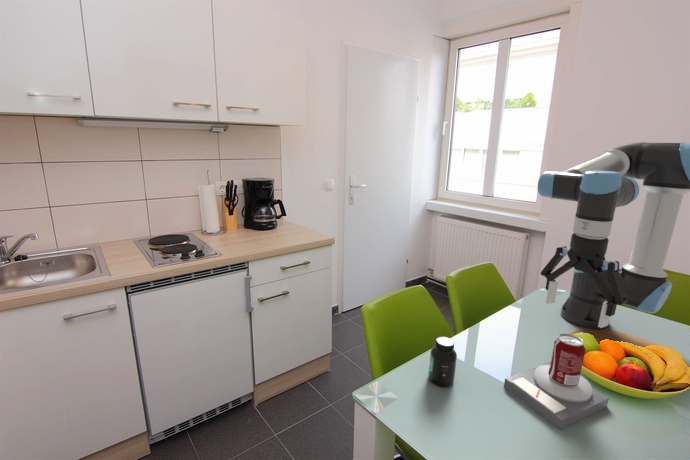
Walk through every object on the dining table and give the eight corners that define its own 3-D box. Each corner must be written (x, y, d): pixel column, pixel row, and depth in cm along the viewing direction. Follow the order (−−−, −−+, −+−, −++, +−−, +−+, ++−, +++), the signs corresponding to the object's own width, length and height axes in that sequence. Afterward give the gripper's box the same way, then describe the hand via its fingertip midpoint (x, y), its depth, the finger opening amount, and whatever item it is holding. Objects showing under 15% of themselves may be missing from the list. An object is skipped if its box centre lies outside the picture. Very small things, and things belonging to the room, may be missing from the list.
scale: (548, 369, 103) (550, 357, 102) (606, 406, 89) (610, 392, 88) (503, 386, 96) (505, 373, 95) (560, 429, 82) (563, 414, 81)
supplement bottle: (426, 384, 96) (430, 345, 93) (429, 369, 102) (433, 332, 99) (452, 390, 93) (457, 350, 90) (454, 375, 100) (459, 337, 97)
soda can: (582, 390, 89) (591, 348, 86) (553, 386, 90) (561, 344, 87) (571, 373, 95) (579, 333, 92) (544, 370, 96) (551, 330, 93)
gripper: (533, 225, 95) (523, 296, 101) (641, 252, 74) (619, 341, 79) (552, 222, 99) (540, 292, 104) (660, 247, 77) (638, 333, 83)
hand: (574, 313), depth 92 cm, fingers open, 13 cm apart
